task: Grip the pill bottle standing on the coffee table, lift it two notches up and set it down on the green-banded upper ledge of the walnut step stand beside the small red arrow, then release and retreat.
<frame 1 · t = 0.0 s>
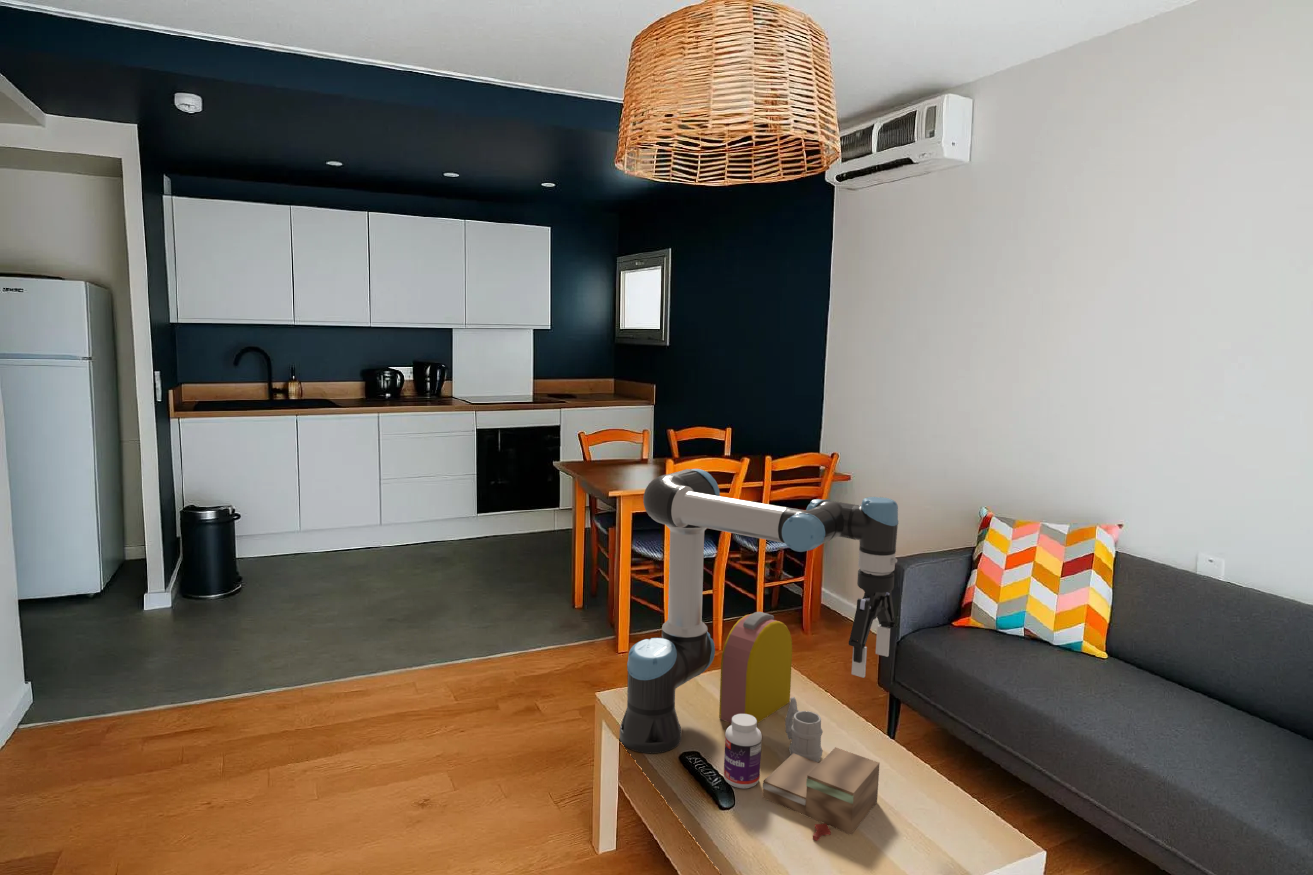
hand: (870, 664, 170), 28 cm above the table, fingers open, 13 cm apart
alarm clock: (755, 710, 207), on the table
pill bottle: (741, 780, 175), on the table
step stand: (819, 799, 168), on the table
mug: (800, 752, 187), on the table
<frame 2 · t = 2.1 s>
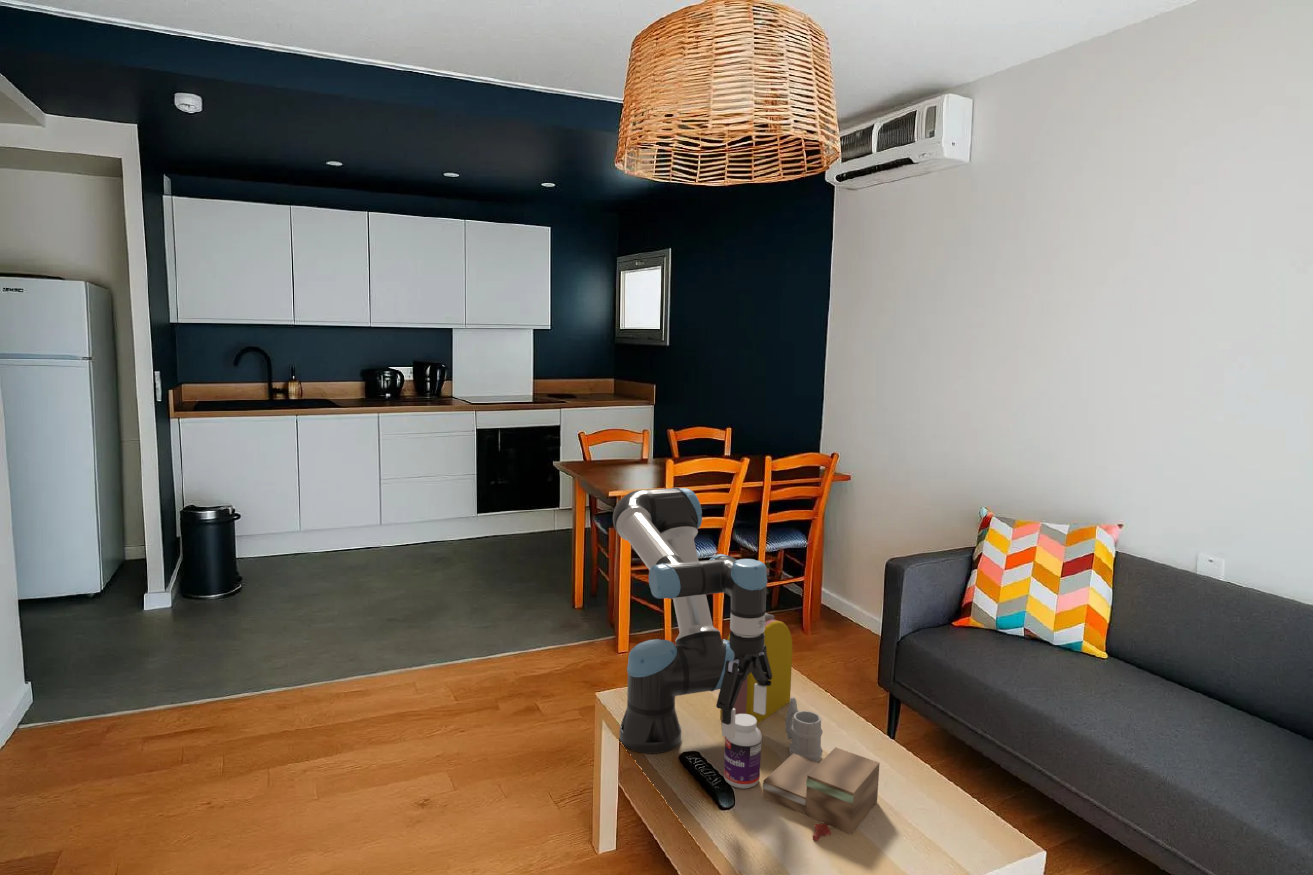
hand: (744, 724, 172), 13 cm above the table, fingers open, 13 cm apart
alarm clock: (755, 710, 207), on the table, touching arm
everything else where it was.
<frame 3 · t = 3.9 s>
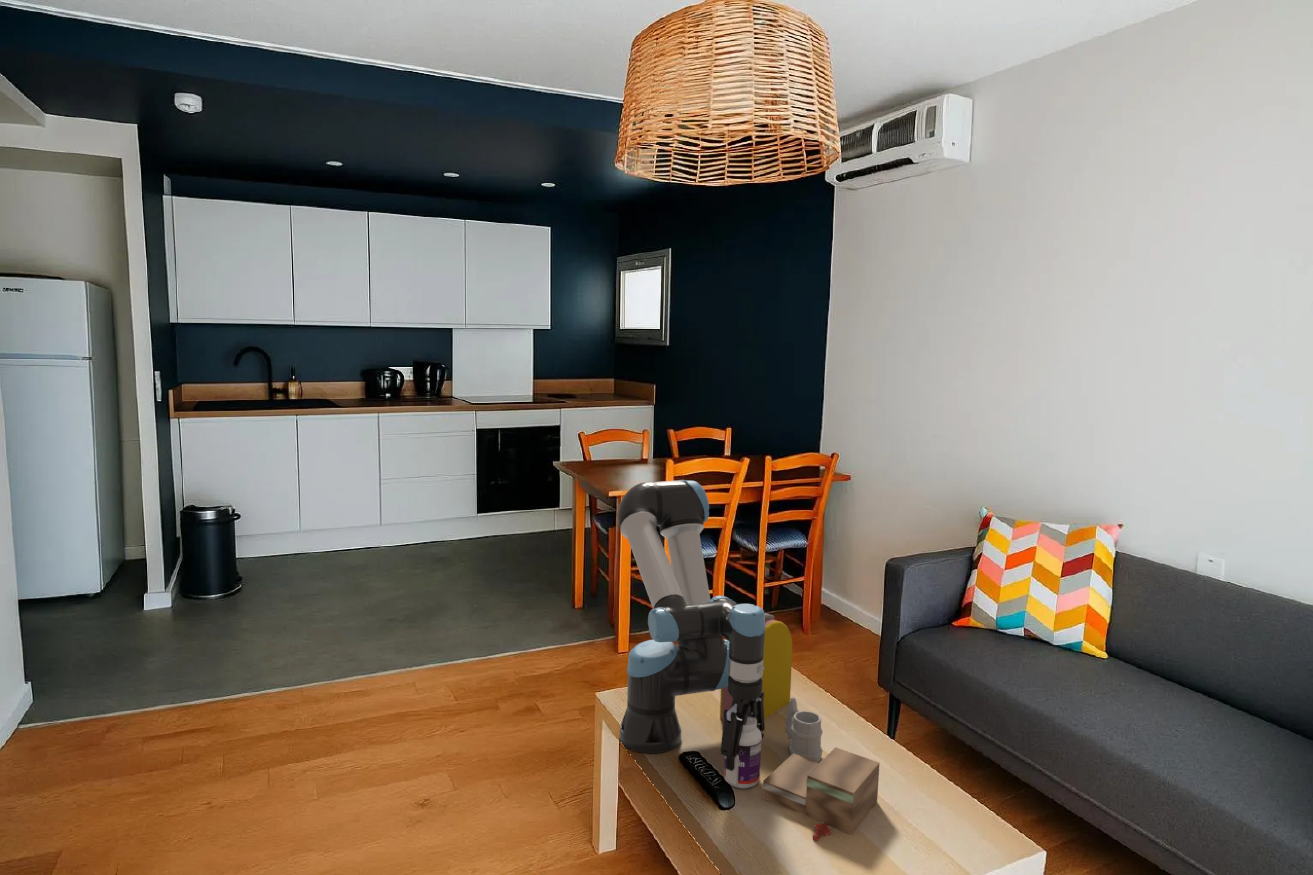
hand: (741, 772, 174), 2 cm above the table, fingers closed on pill bottle, 8 cm apart
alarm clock: (755, 710, 207), on the table
pill bottle: (741, 780, 174), on the table, touching gripper
everything else where it was.
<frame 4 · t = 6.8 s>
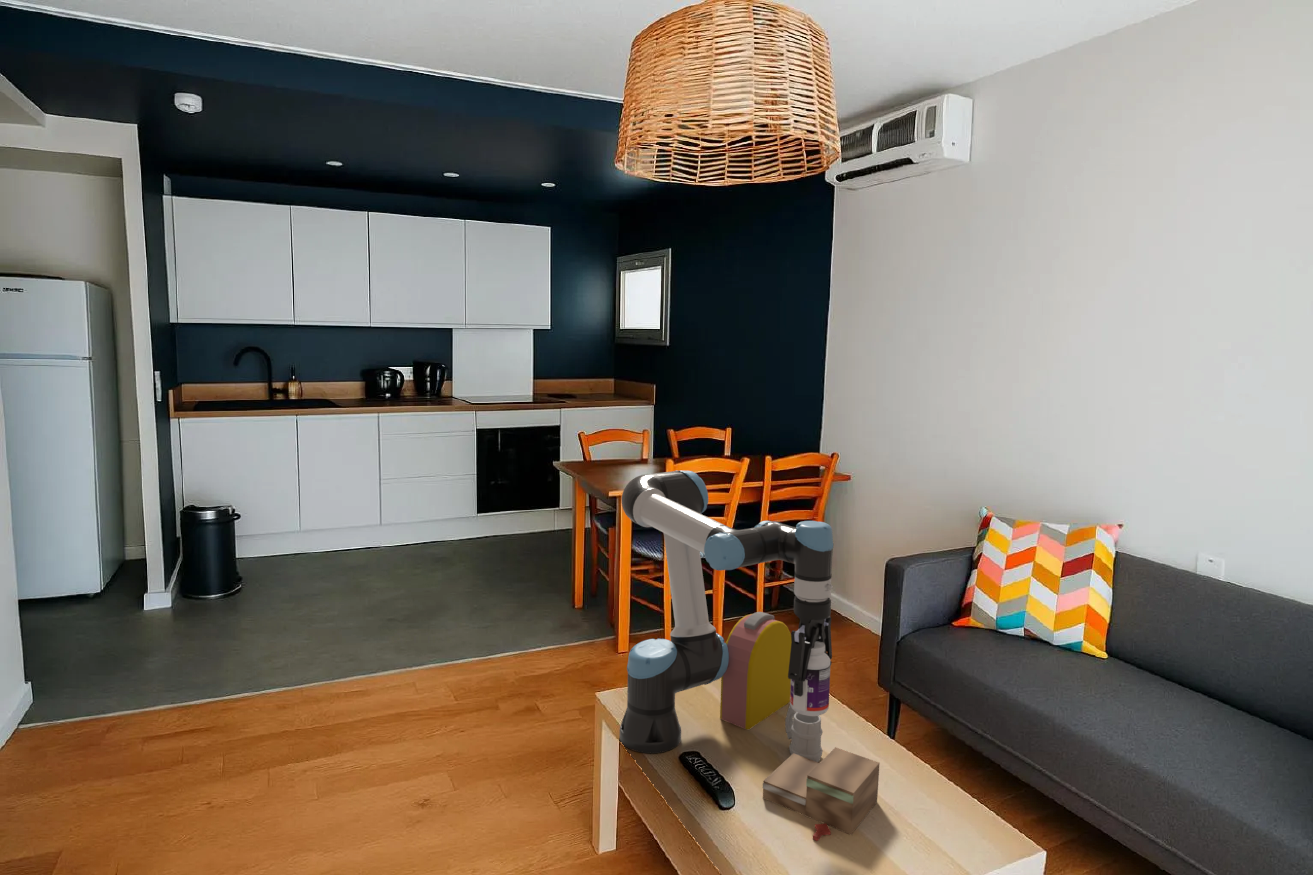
hand: (809, 701, 165), 22 cm above the table, fingers closed on pill bottle, 8 cm apart
pill bottle: (809, 710, 165), point 20 cm above the table, touching gripper
everything else where it was.
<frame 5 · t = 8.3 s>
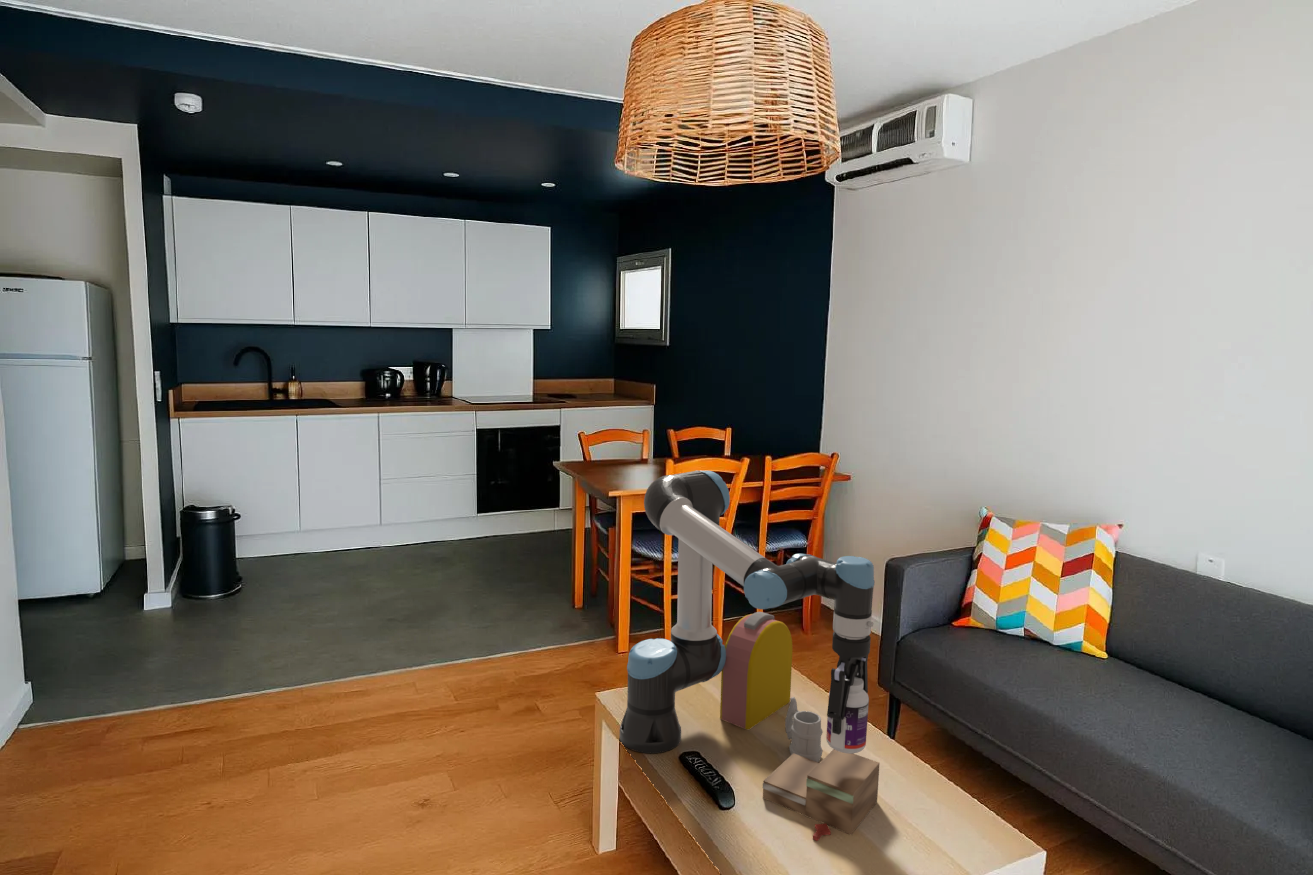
hand: (846, 737, 162), 16 cm above the table, fingers closed on pill bottle, 8 cm apart
pill bottle: (845, 746, 163), point 14 cm above the table, touching gripper
everything else where it was.
when the fingers open (12 cm above the table, at t = 9.8 s): pill bottle drops 1 cm, resting on step stand.
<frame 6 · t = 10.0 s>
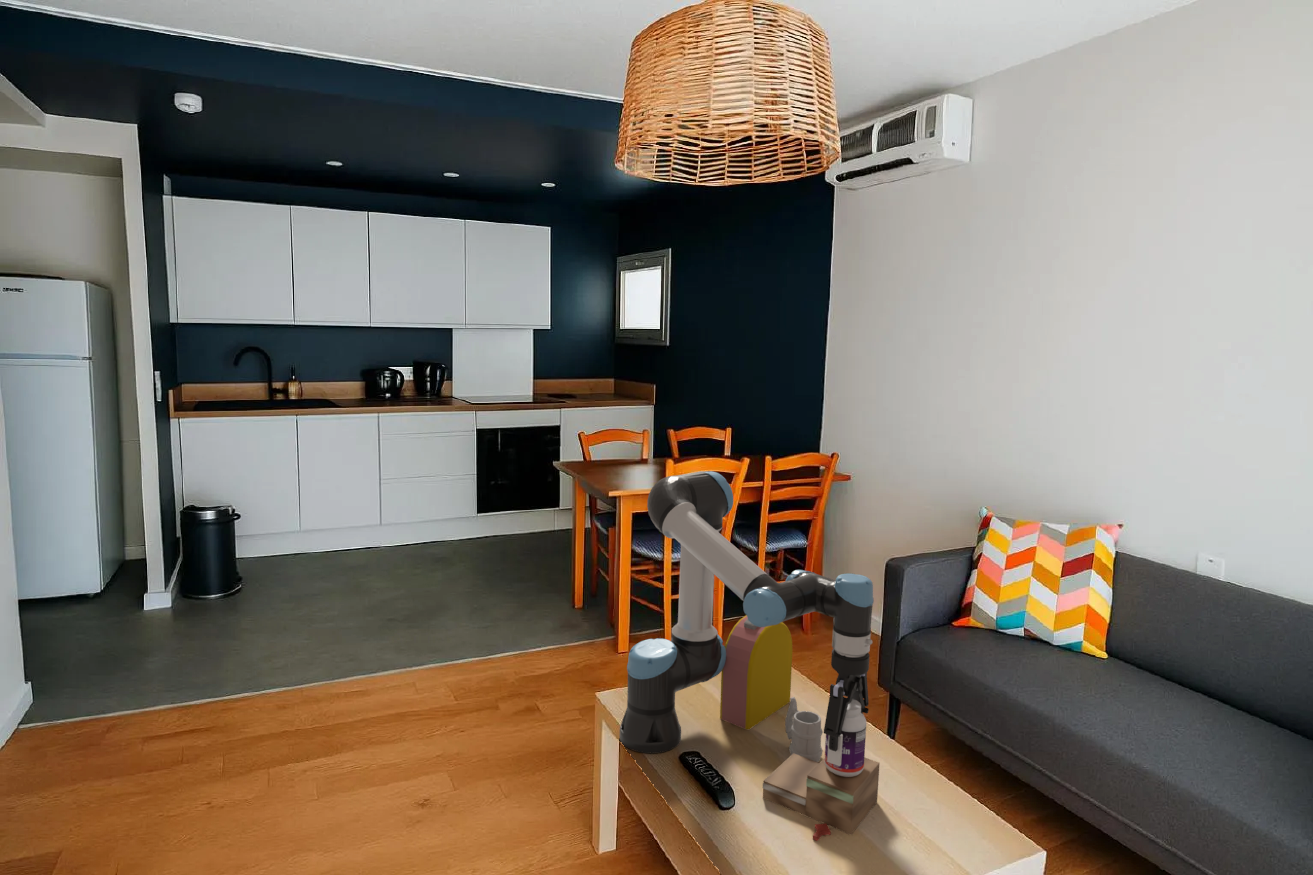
hand: (845, 751, 163), 13 cm above the table, fingers open, 10 cm apart
pill bottle: (843, 769, 164), point 9 cm above the table, touching step stand
everything else where it was.
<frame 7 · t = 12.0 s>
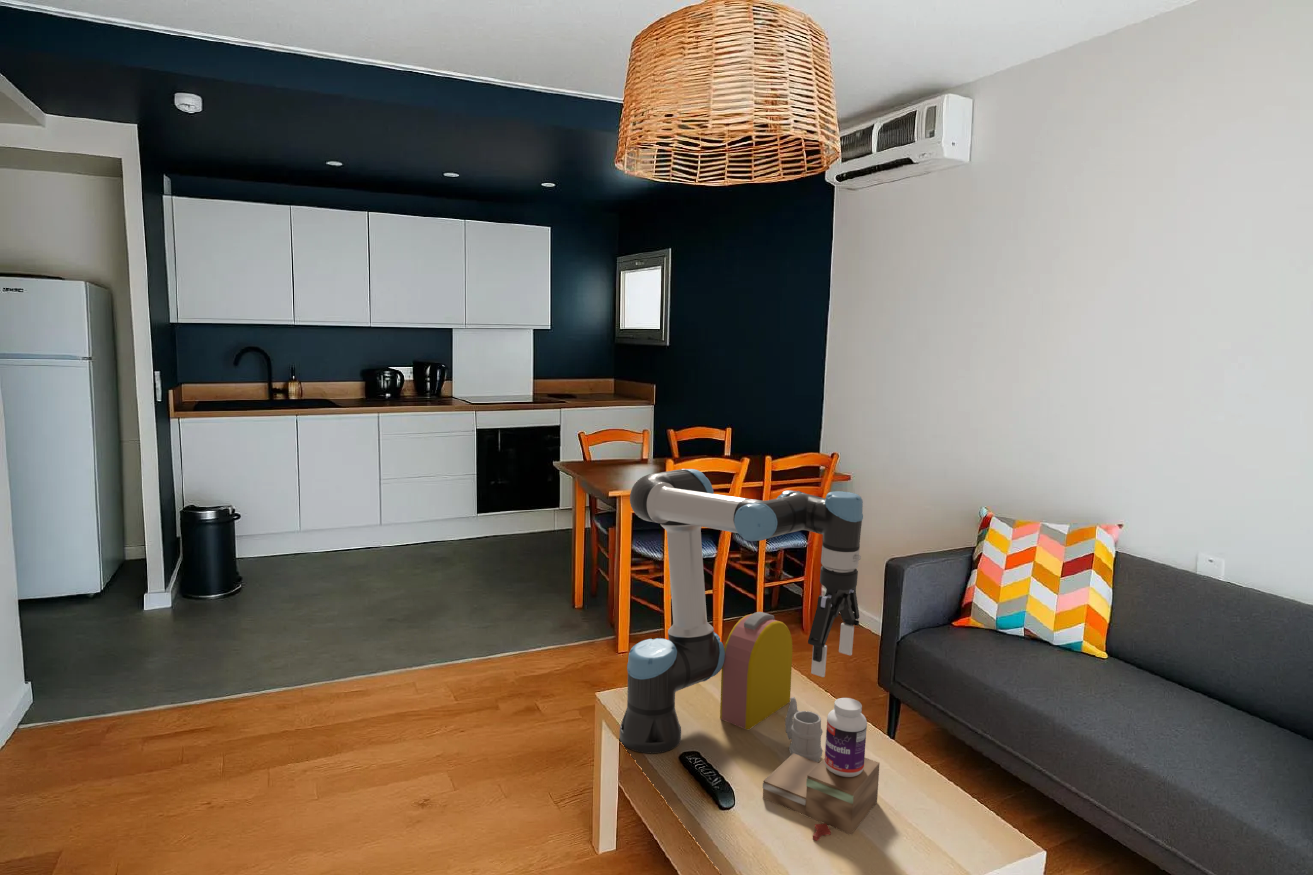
hand: (832, 663, 165), 30 cm above the table, fingers open, 13 cm apart
nothing on the table moved.
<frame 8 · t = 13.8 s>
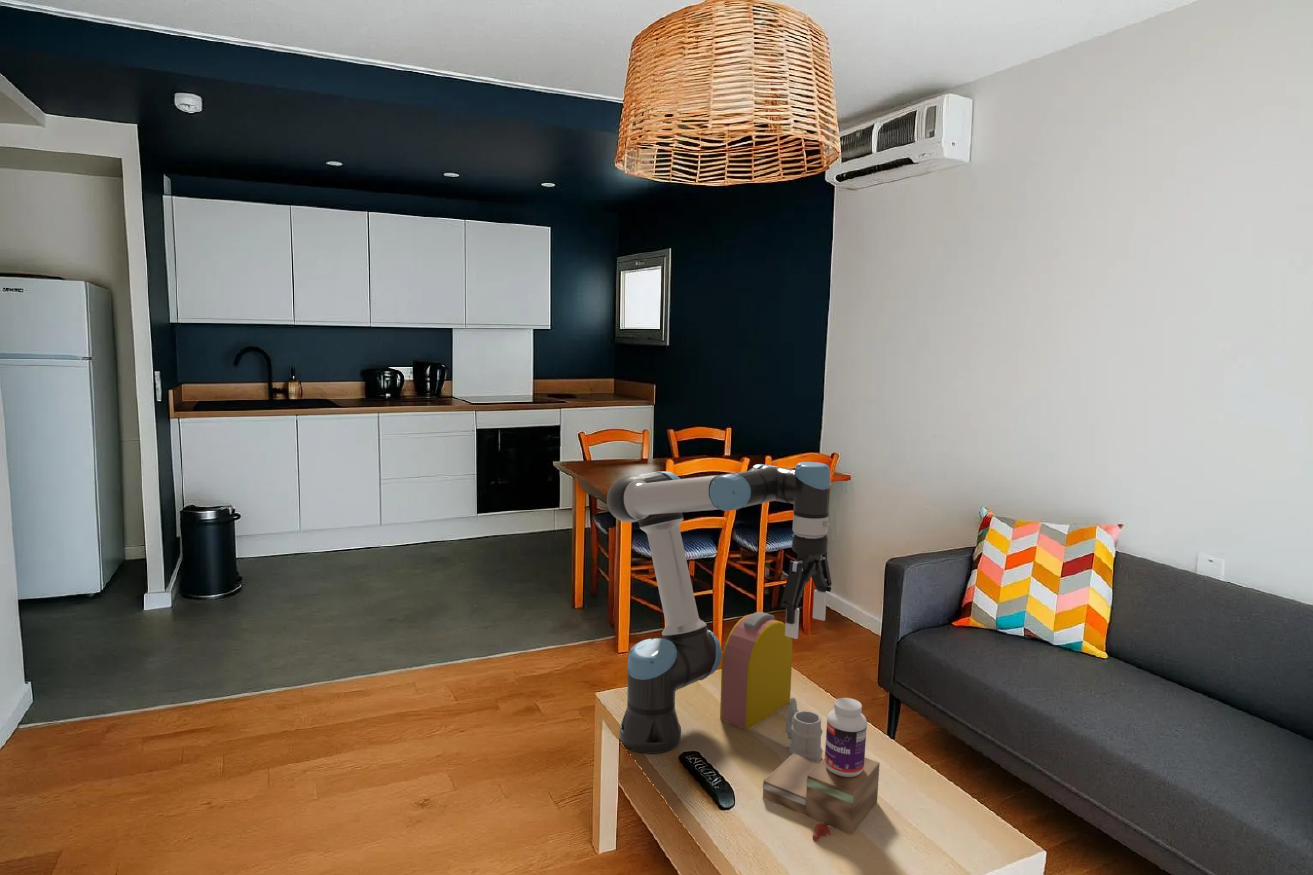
hand: (805, 627, 172), 35 cm above the table, fingers open, 13 cm apart
nothing on the table moved.
at the end: pill bottle inside the target area on the step stand (0.1 cm from its centre), point 8.8 cm above the step stand's base; pill bottle tilted 0°; the gripper is holding nothing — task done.
